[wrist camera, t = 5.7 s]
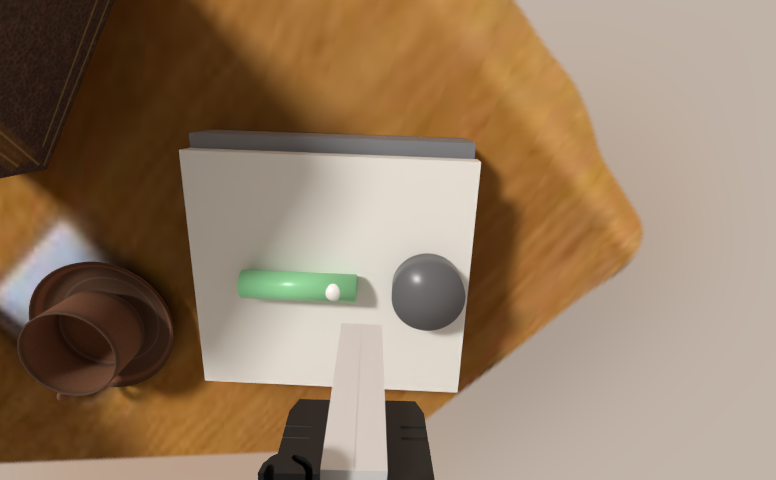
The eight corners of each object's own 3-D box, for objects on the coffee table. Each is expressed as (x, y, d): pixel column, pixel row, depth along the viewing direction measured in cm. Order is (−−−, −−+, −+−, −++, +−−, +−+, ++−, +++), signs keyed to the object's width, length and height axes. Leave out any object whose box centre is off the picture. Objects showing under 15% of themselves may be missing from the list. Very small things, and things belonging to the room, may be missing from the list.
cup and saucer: (182, 380, 40) (149, 428, 35) (52, 366, 40) (-5, 411, 34) (183, 264, 37) (145, 295, 31) (39, 245, 36) (-28, 273, 30)
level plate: (212, 369, 35) (192, 398, 32) (189, 147, 30) (160, 153, 26) (455, 380, 35) (461, 412, 31) (477, 159, 29) (487, 166, 26)
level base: (230, 352, 39) (214, 378, 35) (210, 129, 33) (188, 132, 29) (445, 356, 40) (452, 383, 36) (465, 138, 34) (476, 143, 30)
